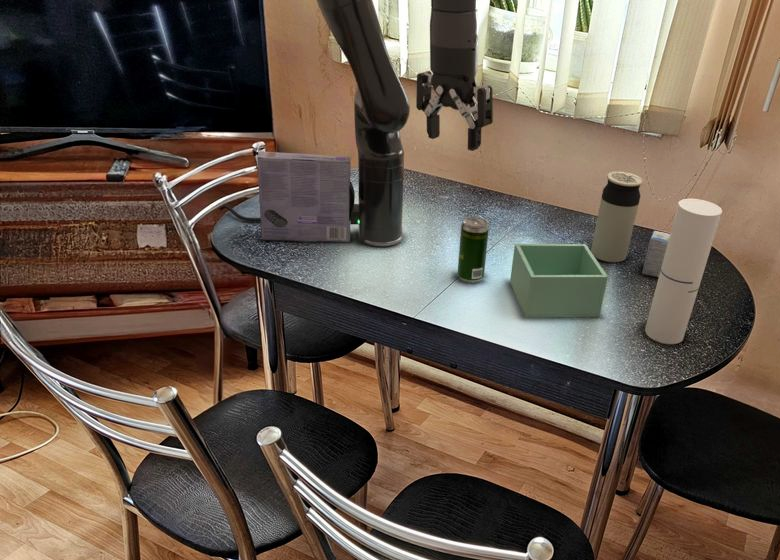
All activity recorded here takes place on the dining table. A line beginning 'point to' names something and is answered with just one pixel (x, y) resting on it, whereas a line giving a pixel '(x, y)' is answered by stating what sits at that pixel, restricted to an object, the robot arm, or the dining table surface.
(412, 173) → the dining table surface
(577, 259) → the bin
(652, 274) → the medicine box
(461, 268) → the beer can
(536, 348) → the dining table surface
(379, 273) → the dining table surface
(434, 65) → the robot arm
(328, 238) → the cake pan box
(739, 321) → the dining table surface
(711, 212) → the cylindrical container
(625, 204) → the travel mug
